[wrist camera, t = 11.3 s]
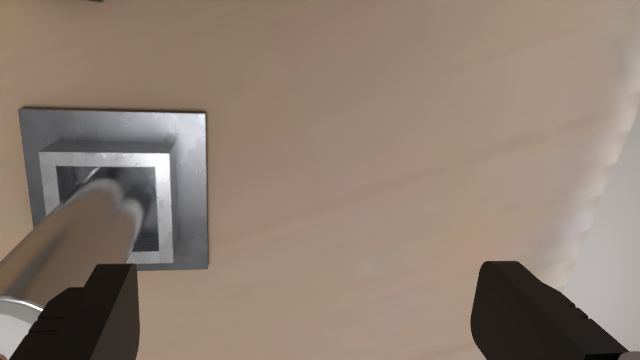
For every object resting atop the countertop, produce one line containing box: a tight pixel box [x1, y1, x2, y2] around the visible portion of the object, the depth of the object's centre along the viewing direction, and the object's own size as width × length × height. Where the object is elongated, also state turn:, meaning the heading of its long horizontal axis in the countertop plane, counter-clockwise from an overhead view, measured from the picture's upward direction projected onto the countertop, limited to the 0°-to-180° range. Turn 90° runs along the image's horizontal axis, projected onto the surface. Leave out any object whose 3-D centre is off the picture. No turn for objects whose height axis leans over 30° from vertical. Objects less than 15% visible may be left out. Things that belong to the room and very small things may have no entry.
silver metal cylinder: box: [0, 166, 155, 360], centre depth 35 cm, size 6×6×25 cm
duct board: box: [18, 107, 209, 271], centre depth 45 cm, size 16×16×5 cm
